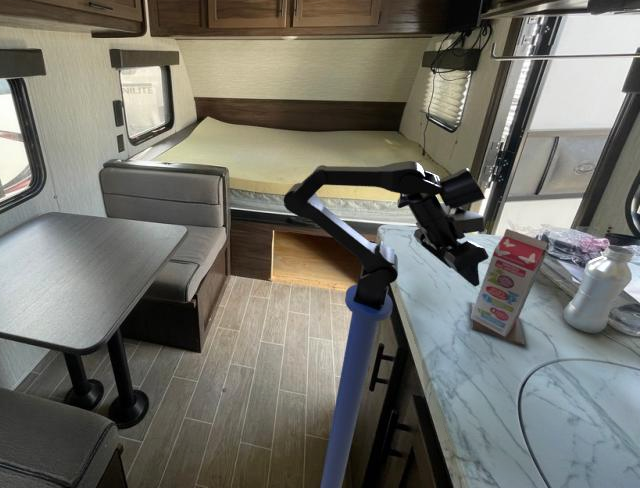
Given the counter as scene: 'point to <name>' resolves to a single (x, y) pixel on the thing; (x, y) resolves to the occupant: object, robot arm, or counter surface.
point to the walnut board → (512, 337)
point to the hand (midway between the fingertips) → (463, 275)
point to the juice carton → (508, 281)
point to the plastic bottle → (599, 290)
